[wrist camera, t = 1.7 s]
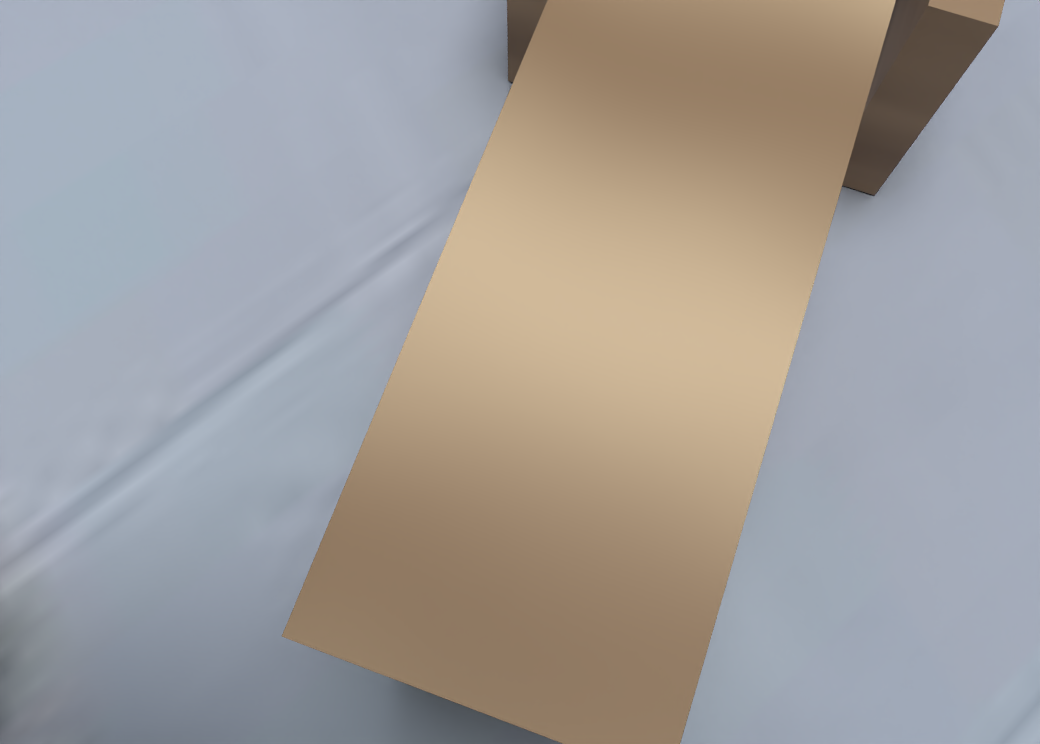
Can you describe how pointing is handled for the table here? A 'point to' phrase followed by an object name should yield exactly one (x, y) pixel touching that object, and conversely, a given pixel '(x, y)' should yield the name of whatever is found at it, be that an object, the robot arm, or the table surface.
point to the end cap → (897, 80)
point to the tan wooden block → (599, 366)
